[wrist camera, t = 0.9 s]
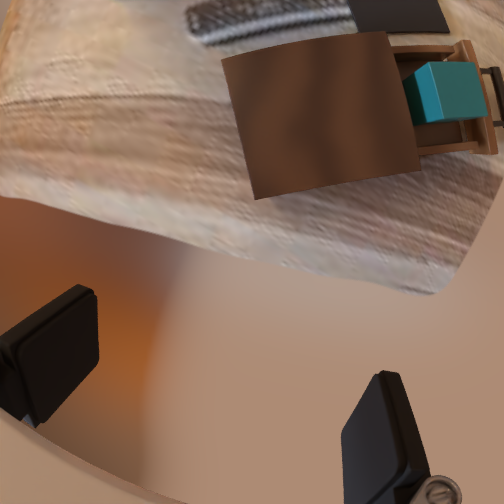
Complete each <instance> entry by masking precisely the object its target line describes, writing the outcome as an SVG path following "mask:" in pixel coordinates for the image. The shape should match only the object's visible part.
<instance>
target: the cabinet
mask: <svg viewBox="0 0 504 504" xmlns="http://www.w3.org/2000/svg"><path fill="white" fill-rule="evenodd" d="M221 62H222V66H223V70H224V74H225V78H226V83H227V87H228V91H229V95H230V99H231V103H232V107H233V111H234V115H235V119H236V124H237V128H238V132H239V136H240V140H241V144H242V149H243V153H244V157H245V161H246V165H247V170H248V174H249V178H250V182H251V187H252V191H253V195H254V200H258V199H263V198H268V197H272V196H277V195H282V194H287V193H292V192H297V191H303V190H308V189H313V188H318V187H324V186H329V185H335V184H340V183H346V182H352V181H358V180H363V179H369V178H375V177H382V176H388V175H394V174H401V173H407V172H414V171H421V166H420V160H419V155H418V149H417V144H416V139H415V134H414V129H413V125H412V120H411V116H410V111H409V107H408V103H407V99H406V95H405V92H404V88H403V84H402V81H401V77H400V74H399V70H398V67H397V64H396V61H395V57H394V54H393V51H392V48H391V45H390V42H389V40H388V37H387V34H386V31H380V32H366V33H355V34H346V35H337V36H329V37H322V38H316V39H309V40H303V41H298V42H292V43H287V44H282V45H277V46H273V47H268V48H264V49H260V50H255V51H251V52H247V53H243V54H240V55H236V56H232V57H229V58H225V59H222V60H221Z"/></svg>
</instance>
